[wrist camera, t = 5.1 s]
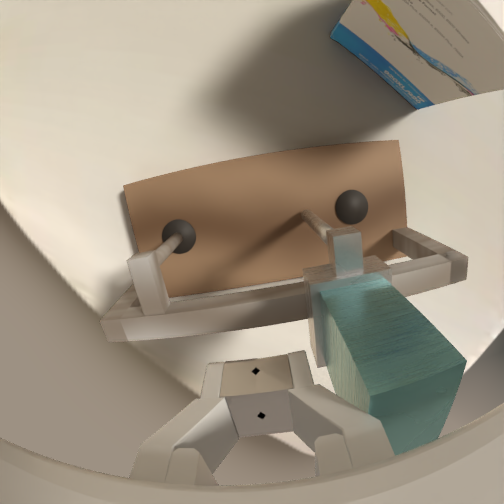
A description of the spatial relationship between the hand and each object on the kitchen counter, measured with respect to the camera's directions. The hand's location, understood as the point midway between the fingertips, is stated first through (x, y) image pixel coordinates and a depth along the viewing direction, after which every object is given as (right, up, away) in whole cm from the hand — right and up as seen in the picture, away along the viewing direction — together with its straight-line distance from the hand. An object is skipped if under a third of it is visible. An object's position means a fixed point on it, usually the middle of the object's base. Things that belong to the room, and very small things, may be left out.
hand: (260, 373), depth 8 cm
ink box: (+11, +19, +7) cm, 23 cm away
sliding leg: (+3, +4, +9) cm, 11 cm away
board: (+1, +6, +10) cm, 12 cm away
